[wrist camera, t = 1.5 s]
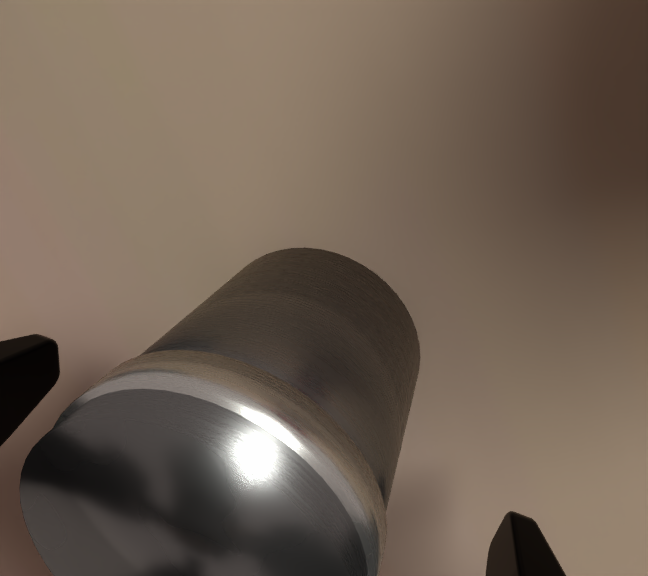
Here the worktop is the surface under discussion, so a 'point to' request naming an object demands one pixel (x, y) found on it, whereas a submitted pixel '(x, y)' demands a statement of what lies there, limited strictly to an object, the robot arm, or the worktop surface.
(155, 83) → the worktop surface
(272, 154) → the worktop surface
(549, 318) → the worktop surface
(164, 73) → the worktop surface
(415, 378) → the metal can
